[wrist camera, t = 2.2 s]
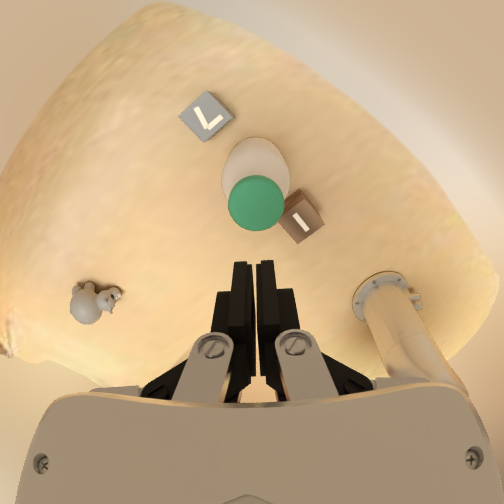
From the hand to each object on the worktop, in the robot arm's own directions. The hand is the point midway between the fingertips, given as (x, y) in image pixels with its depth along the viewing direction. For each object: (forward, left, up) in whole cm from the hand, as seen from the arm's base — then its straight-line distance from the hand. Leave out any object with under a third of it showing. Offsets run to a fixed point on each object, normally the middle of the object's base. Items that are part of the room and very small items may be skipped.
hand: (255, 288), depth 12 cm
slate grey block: (+6, -7, -31) cm, 32 cm away
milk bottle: (0, 0, -31) cm, 31 cm away
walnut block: (-6, +8, -31) cm, 33 cm away
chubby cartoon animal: (+34, +23, -31) cm, 51 cm away
